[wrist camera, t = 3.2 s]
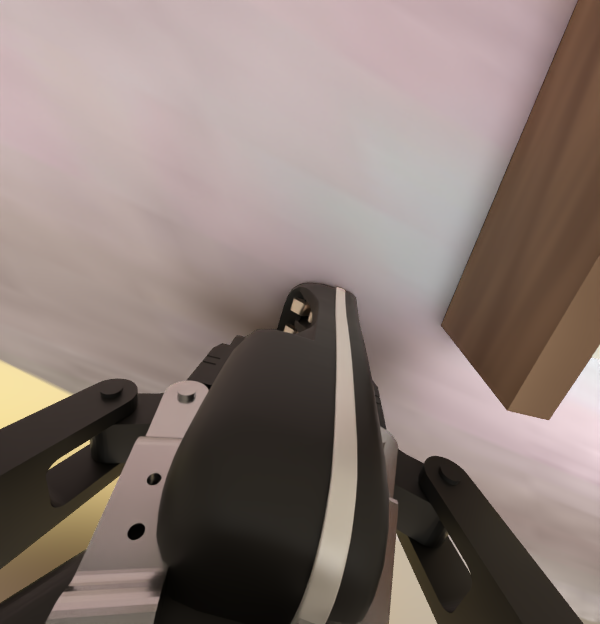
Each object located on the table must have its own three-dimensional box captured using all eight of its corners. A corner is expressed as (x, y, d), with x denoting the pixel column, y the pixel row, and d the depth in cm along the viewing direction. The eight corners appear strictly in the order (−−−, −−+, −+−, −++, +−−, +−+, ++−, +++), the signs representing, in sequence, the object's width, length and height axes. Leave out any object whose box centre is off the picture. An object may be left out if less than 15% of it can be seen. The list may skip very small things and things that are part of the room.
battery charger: (282, 263, 14) (109, 481, 3) (359, 288, 14) (425, 581, 3) (250, 380, 17) (98, 703, 6) (314, 401, 17) (274, 760, 6)
